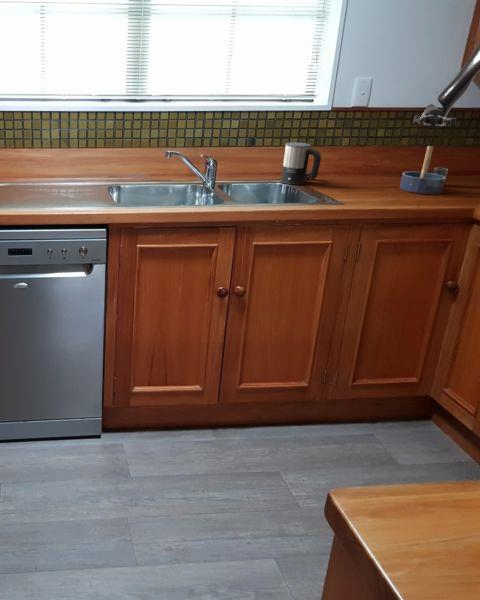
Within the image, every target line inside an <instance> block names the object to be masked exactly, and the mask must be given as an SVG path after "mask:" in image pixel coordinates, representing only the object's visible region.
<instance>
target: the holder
mask: <svg viewBox="0 0 480 600" xmlns="http://www.w3.org/2000/svg"><path fill="white" fill-rule="evenodd" d="M448 172H449V169H448V168H445V167H434V168H433V172H432V173H433V174H438V175H442V176H444V177H445V180H446V179H447V175H448ZM445 183H446V181H445V182H444V184H445Z"/></svg>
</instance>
